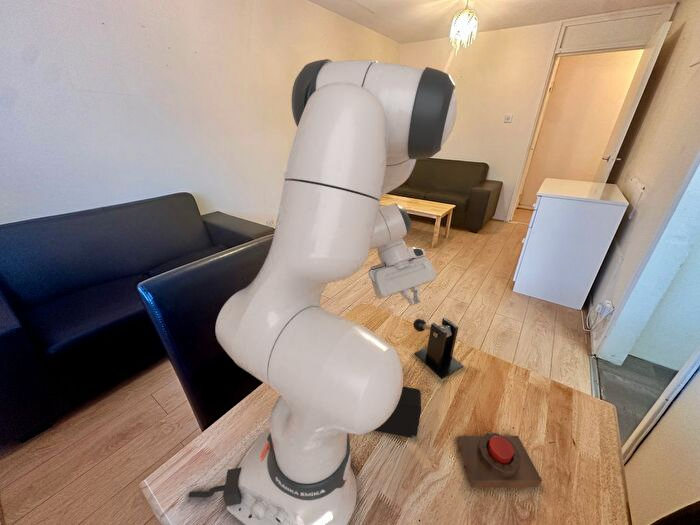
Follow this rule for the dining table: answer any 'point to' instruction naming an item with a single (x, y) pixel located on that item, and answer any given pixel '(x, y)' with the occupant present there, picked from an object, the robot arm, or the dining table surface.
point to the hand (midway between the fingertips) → (415, 304)
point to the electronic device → (404, 415)
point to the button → (500, 449)
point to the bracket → (440, 350)
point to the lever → (429, 326)
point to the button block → (497, 464)
